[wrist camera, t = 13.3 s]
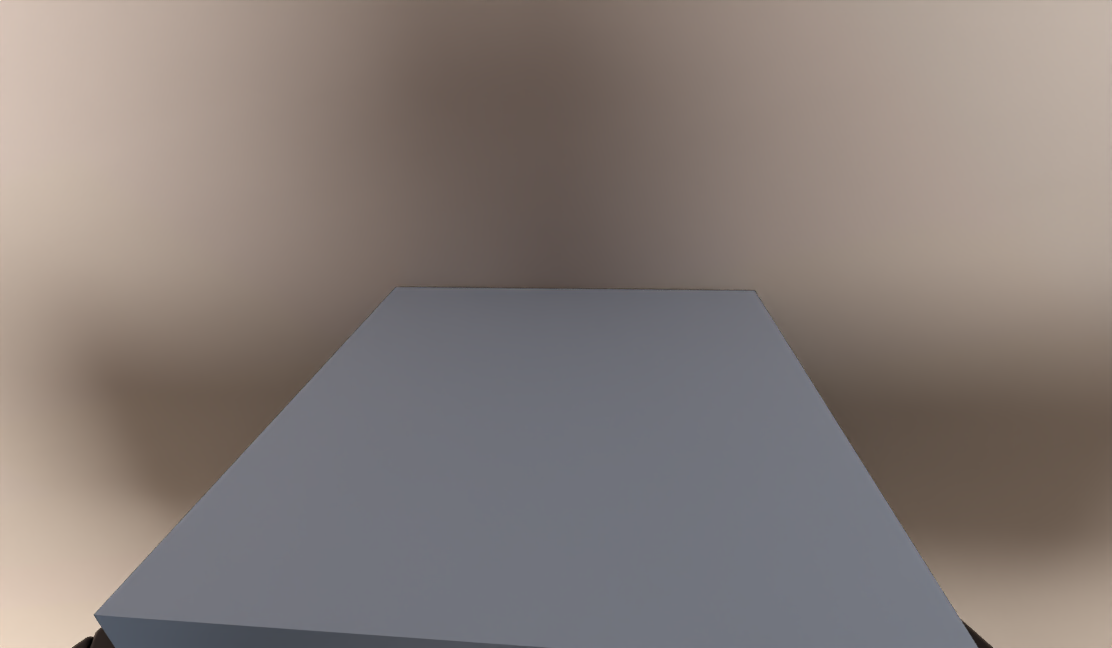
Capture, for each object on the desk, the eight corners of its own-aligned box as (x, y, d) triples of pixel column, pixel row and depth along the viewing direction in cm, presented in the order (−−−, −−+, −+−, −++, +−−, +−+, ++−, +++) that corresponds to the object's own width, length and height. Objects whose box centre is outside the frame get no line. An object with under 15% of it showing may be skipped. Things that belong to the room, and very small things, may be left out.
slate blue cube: (754, 290, 7) (999, 680, 3) (714, 549, 9) (809, 994, 5) (396, 287, 8) (93, 615, 3) (440, 534, 10) (300, 931, 5)
